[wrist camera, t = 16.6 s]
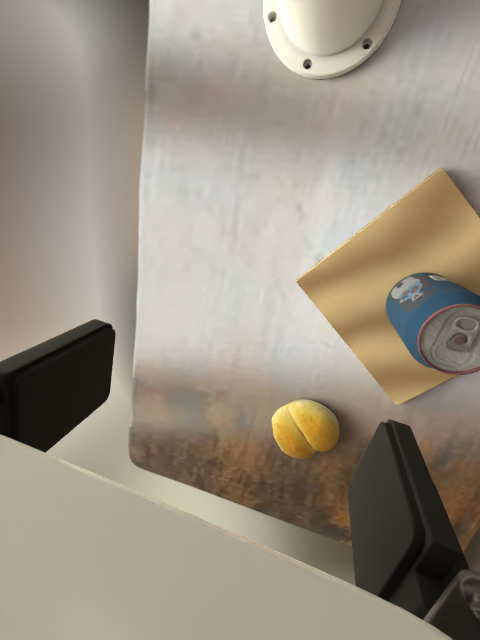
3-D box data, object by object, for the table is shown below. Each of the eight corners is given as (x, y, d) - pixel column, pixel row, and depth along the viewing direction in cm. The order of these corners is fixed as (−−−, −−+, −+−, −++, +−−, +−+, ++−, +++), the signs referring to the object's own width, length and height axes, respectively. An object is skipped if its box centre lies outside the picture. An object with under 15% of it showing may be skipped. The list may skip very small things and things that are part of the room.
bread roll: (349, 436, 44) (351, 456, 40) (291, 454, 47) (289, 474, 43) (320, 387, 43) (320, 403, 39) (263, 409, 46) (258, 426, 42)
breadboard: (296, 279, 39) (295, 281, 38) (437, 169, 32) (443, 167, 31) (394, 399, 41) (396, 406, 39) (548, 319, 34) (558, 324, 32)
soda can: (438, 337, 36) (489, 392, 25) (375, 322, 37) (396, 368, 26) (464, 278, 33) (534, 309, 22) (395, 264, 34) (429, 287, 23)
